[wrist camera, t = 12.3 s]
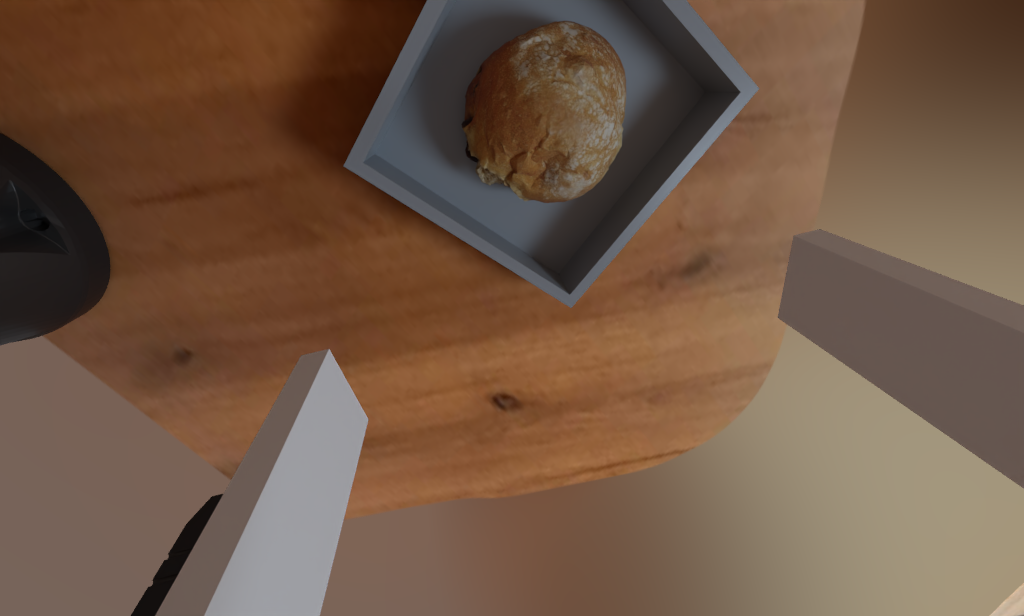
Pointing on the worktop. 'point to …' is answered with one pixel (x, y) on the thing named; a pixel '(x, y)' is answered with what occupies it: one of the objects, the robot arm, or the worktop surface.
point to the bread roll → (547, 112)
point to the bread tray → (496, 208)
